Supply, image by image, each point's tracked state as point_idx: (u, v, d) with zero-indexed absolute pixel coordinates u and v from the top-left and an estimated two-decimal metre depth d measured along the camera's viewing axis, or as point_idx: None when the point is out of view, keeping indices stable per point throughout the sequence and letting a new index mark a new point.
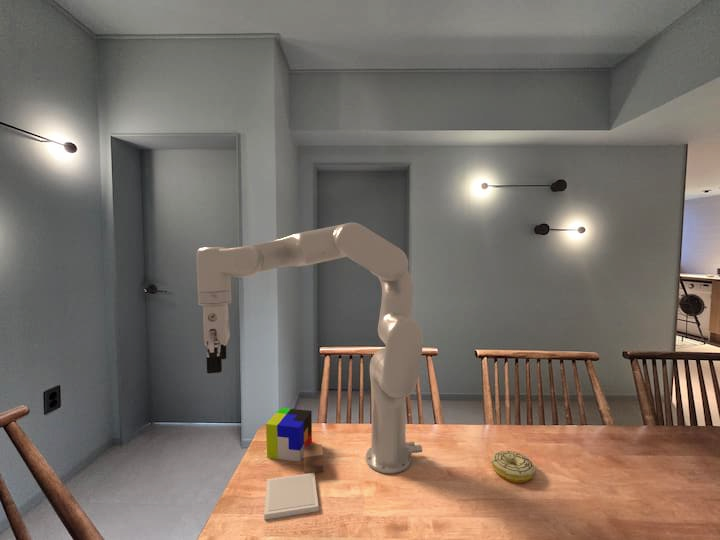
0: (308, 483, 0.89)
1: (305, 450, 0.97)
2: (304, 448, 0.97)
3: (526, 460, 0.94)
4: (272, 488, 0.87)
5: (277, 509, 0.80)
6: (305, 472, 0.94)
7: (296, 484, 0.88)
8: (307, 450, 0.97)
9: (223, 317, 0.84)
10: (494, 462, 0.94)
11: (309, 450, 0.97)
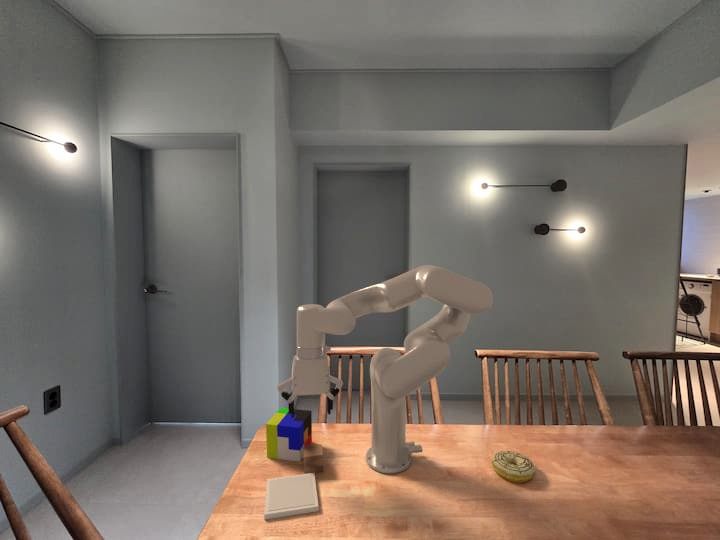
0: (308, 483, 0.89)
1: (305, 450, 0.97)
2: (304, 448, 0.97)
3: (526, 460, 0.94)
4: (272, 488, 0.87)
5: (277, 509, 0.80)
6: (305, 472, 0.94)
7: (296, 484, 0.88)
8: (307, 450, 0.97)
9: None
10: (494, 462, 0.94)
11: (309, 450, 0.97)
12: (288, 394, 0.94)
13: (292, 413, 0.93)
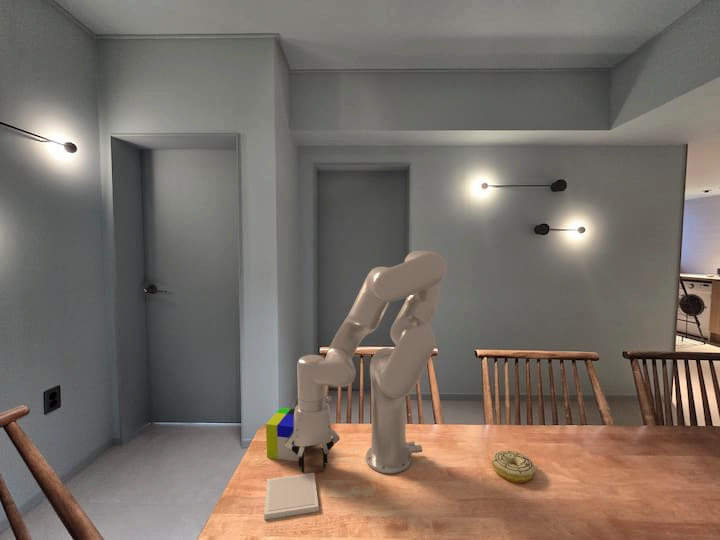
0: (308, 483, 0.89)
1: (305, 450, 0.97)
2: (304, 448, 0.98)
3: (526, 460, 0.94)
4: (272, 488, 0.87)
5: (277, 509, 0.80)
6: (305, 472, 0.94)
7: (296, 484, 0.88)
8: (307, 450, 0.97)
9: None
10: (494, 462, 0.94)
11: (309, 450, 0.97)
12: None
13: (302, 467, 0.95)
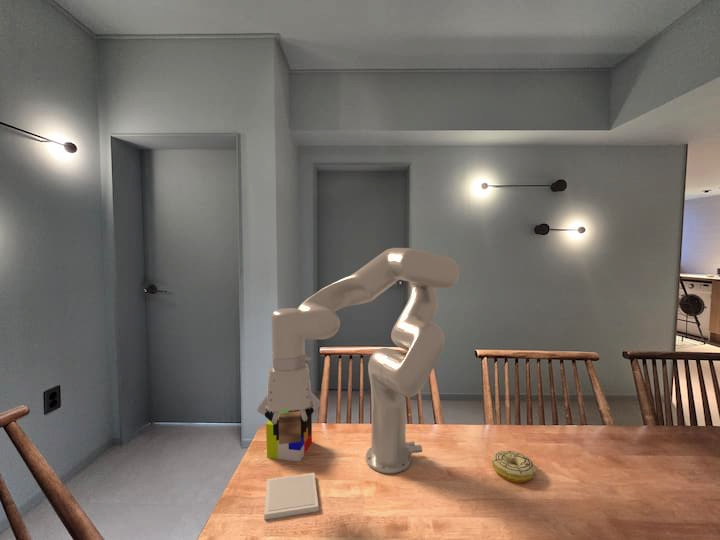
0: (308, 483, 0.89)
1: (281, 417, 0.84)
2: (280, 415, 0.85)
3: (527, 460, 0.94)
4: (272, 488, 0.87)
5: (277, 509, 0.80)
6: (280, 441, 0.82)
7: (296, 484, 0.88)
8: (283, 417, 0.84)
9: None
10: (495, 462, 0.94)
11: (285, 417, 0.84)
12: None
13: (277, 435, 0.83)
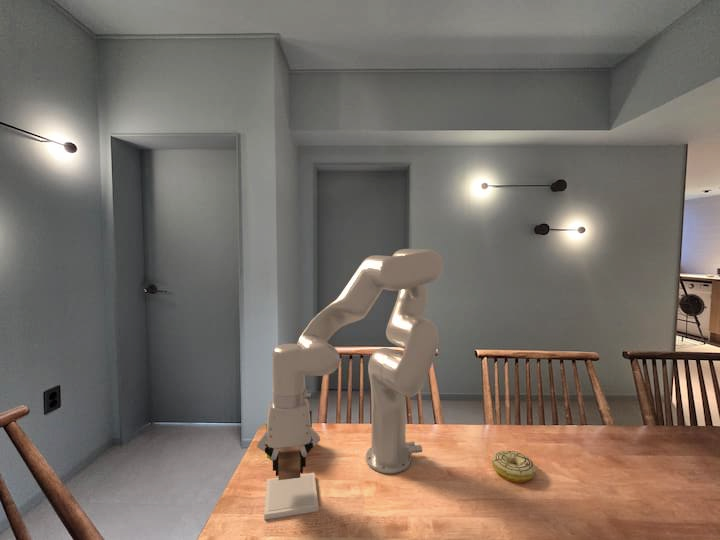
0: (308, 483, 0.89)
1: (280, 452, 0.85)
2: (279, 449, 0.86)
3: (527, 460, 0.94)
4: (272, 488, 0.87)
5: (277, 509, 0.80)
6: (279, 477, 0.82)
7: (296, 484, 0.88)
8: (283, 452, 0.85)
9: None
10: (495, 462, 0.95)
11: (285, 452, 0.85)
12: None
13: (277, 471, 0.83)
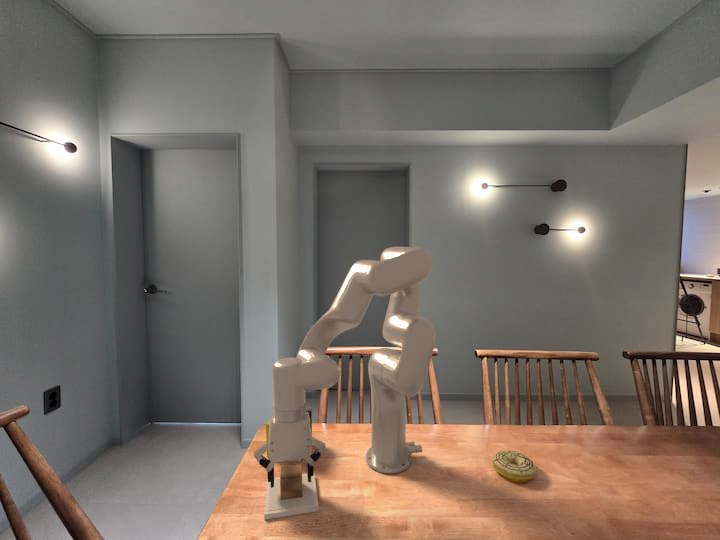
0: (308, 483, 0.89)
1: (282, 471, 0.86)
2: (281, 469, 0.86)
3: (527, 460, 0.94)
4: (272, 488, 0.87)
5: (277, 509, 0.80)
6: (281, 497, 0.83)
7: None
8: (285, 471, 0.86)
9: None
10: (495, 461, 0.95)
11: (287, 471, 0.86)
12: (266, 461, 0.84)
13: (271, 483, 0.83)
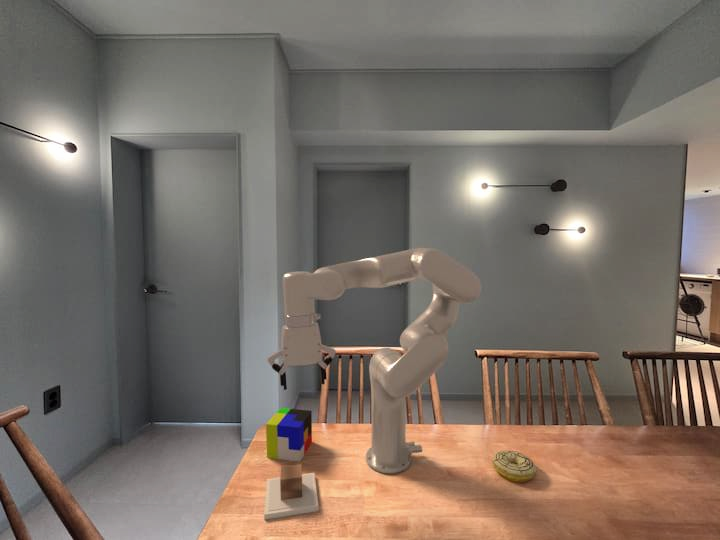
0: (308, 483, 0.89)
1: (282, 471, 0.86)
2: (281, 469, 0.86)
3: (527, 460, 0.94)
4: (272, 488, 0.87)
5: (277, 509, 0.80)
6: (281, 497, 0.83)
7: None
8: (285, 471, 0.86)
9: None
10: (495, 461, 0.95)
11: (287, 471, 0.86)
12: (279, 366, 0.90)
13: (284, 385, 0.89)
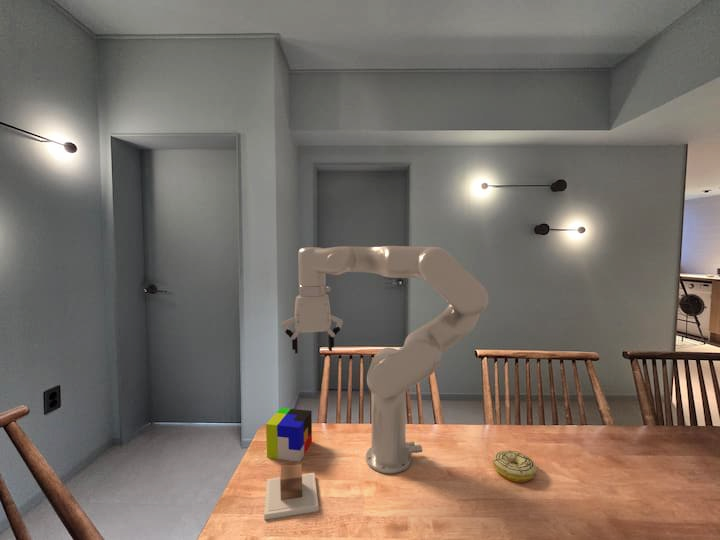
0: (308, 483, 0.89)
1: (282, 471, 0.86)
2: (281, 469, 0.86)
3: (527, 460, 0.94)
4: (272, 488, 0.87)
5: (277, 509, 0.80)
6: (281, 497, 0.83)
7: None
8: (285, 471, 0.86)
9: None
10: (495, 461, 0.95)
11: (287, 471, 0.86)
12: (292, 332, 1.00)
13: (296, 349, 0.99)
